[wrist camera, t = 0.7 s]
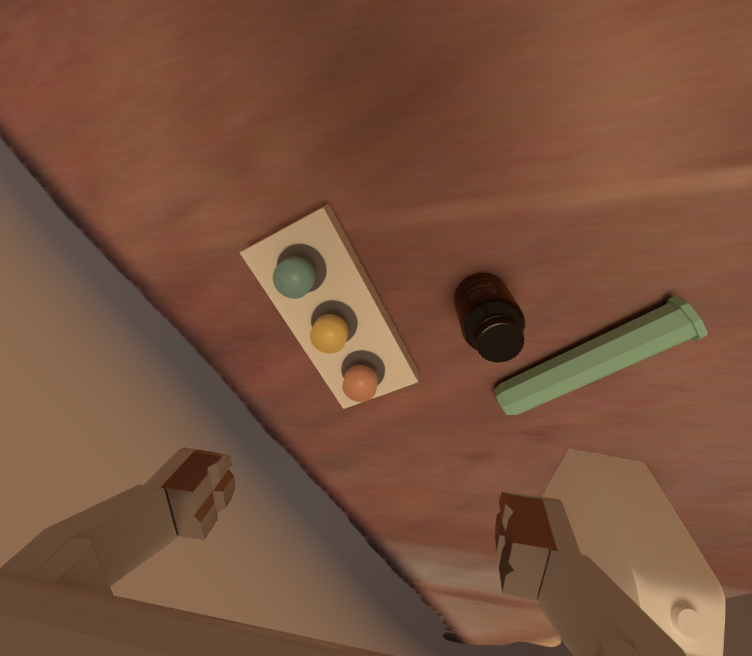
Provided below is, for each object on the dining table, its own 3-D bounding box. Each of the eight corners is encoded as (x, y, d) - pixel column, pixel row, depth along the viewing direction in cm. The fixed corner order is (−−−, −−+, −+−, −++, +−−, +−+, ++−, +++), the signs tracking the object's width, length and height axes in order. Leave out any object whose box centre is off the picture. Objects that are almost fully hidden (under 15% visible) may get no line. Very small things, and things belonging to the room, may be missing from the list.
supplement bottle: (447, 314, 50) (456, 363, 39) (463, 266, 47) (477, 305, 36) (497, 325, 50) (519, 377, 39) (516, 278, 47) (546, 320, 36)
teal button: (271, 266, 43) (264, 271, 41) (302, 249, 42) (297, 254, 40) (291, 297, 45) (286, 304, 43) (322, 283, 43) (318, 289, 42)
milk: (542, 496, 64) (614, 700, 41) (568, 448, 58) (670, 651, 35) (611, 509, 64) (723, 721, 40) (644, 462, 58) (795, 675, 35)
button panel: (249, 246, 48) (237, 254, 45) (328, 203, 44) (322, 208, 41) (346, 396, 57) (342, 411, 54) (417, 370, 54) (418, 384, 51)
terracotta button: (338, 371, 49) (336, 380, 47) (368, 360, 48) (366, 369, 46) (354, 396, 51) (352, 406, 49) (383, 386, 49) (382, 395, 48)
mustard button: (307, 322, 46) (302, 329, 44) (337, 308, 45) (334, 315, 43) (325, 350, 48) (321, 358, 46) (354, 337, 46) (352, 345, 45)
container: (509, 430, 50) (716, 342, 41) (486, 392, 50) (687, 296, 42) (508, 414, 56) (691, 333, 47) (488, 380, 56) (665, 293, 47)
